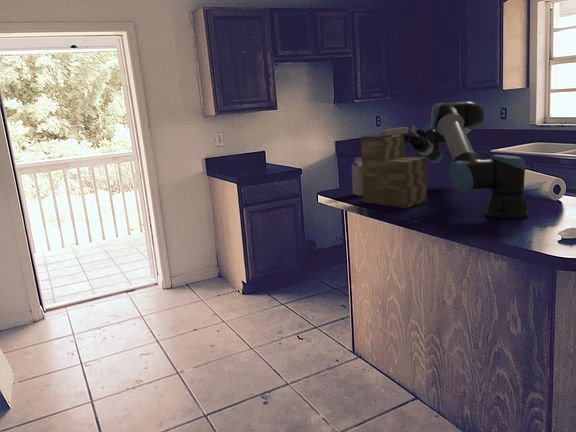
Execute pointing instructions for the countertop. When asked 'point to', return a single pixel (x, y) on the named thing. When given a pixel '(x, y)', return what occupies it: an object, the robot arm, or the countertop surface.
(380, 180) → the oak step block
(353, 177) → the milk carton
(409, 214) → the countertop surface
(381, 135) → the turner
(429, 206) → the countertop surface
